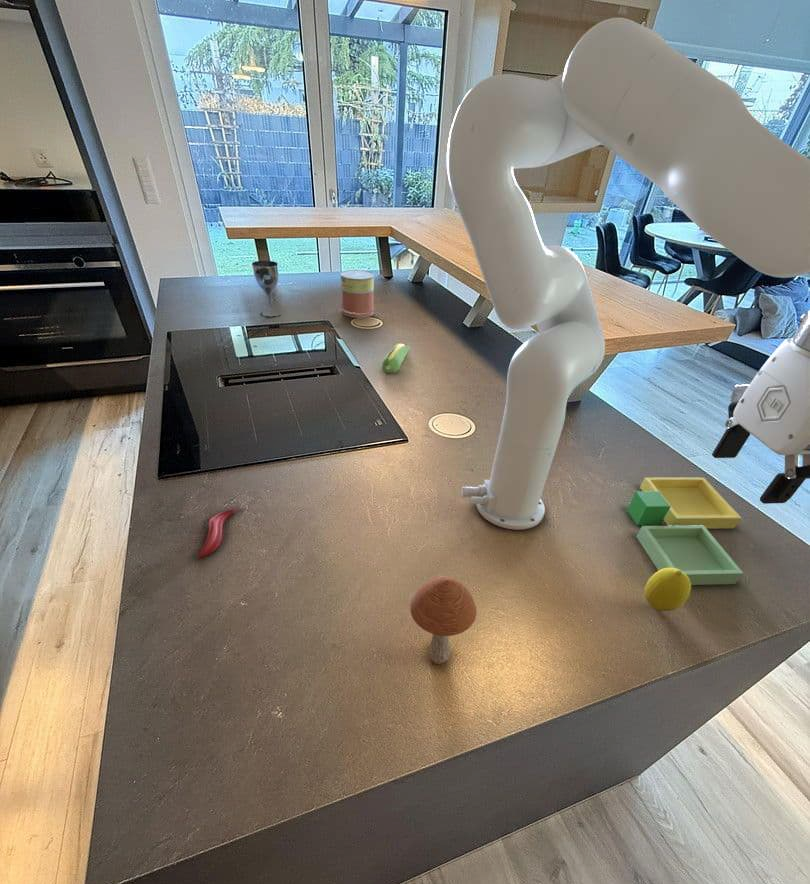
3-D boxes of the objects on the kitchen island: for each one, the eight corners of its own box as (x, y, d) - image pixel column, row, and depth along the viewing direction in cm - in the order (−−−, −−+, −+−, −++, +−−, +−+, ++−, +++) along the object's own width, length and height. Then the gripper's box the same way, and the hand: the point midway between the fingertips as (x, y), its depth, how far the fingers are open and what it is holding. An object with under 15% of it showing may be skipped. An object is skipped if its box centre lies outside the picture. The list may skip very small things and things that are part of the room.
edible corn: (378, 375, 126) (378, 359, 123) (396, 349, 140) (397, 334, 137) (396, 378, 125) (397, 362, 122) (412, 352, 139) (413, 336, 136)
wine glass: (255, 316, 155) (247, 265, 145) (264, 308, 161) (257, 259, 150) (278, 318, 154) (272, 267, 144) (286, 311, 160) (281, 262, 150)
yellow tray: (670, 529, 84) (676, 518, 83) (639, 487, 94) (644, 477, 92) (733, 528, 86) (741, 517, 84) (697, 487, 95) (703, 477, 93)
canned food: (345, 306, 168) (344, 268, 160) (375, 308, 167) (376, 271, 159) (338, 316, 160) (337, 277, 151) (371, 318, 159) (371, 280, 151)
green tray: (667, 585, 74) (675, 574, 72) (636, 536, 82) (641, 525, 81) (734, 584, 75) (743, 573, 73) (696, 535, 83) (703, 525, 82)
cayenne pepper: (224, 508, 82) (222, 499, 80) (247, 514, 81) (245, 506, 80) (180, 552, 73) (176, 544, 72) (205, 560, 72) (202, 551, 71)
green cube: (636, 525, 85) (647, 506, 82) (626, 510, 88) (635, 491, 85) (660, 525, 85) (670, 506, 82) (648, 509, 88) (658, 491, 85)
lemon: (678, 624, 68) (705, 589, 63) (639, 617, 69) (663, 581, 63) (670, 596, 72) (695, 561, 67) (634, 590, 73) (655, 554, 67)
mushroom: (403, 631, 65) (410, 555, 54) (459, 629, 65) (476, 554, 55) (408, 683, 59) (417, 609, 49) (469, 679, 60) (490, 606, 49)
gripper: (751, 311, 53) (682, 442, 64) (879, 375, 40) (764, 523, 52) (810, 313, 53) (731, 442, 65) (953, 376, 41) (823, 521, 53)
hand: (745, 478), depth 58 cm, fingers open, 9 cm apart
